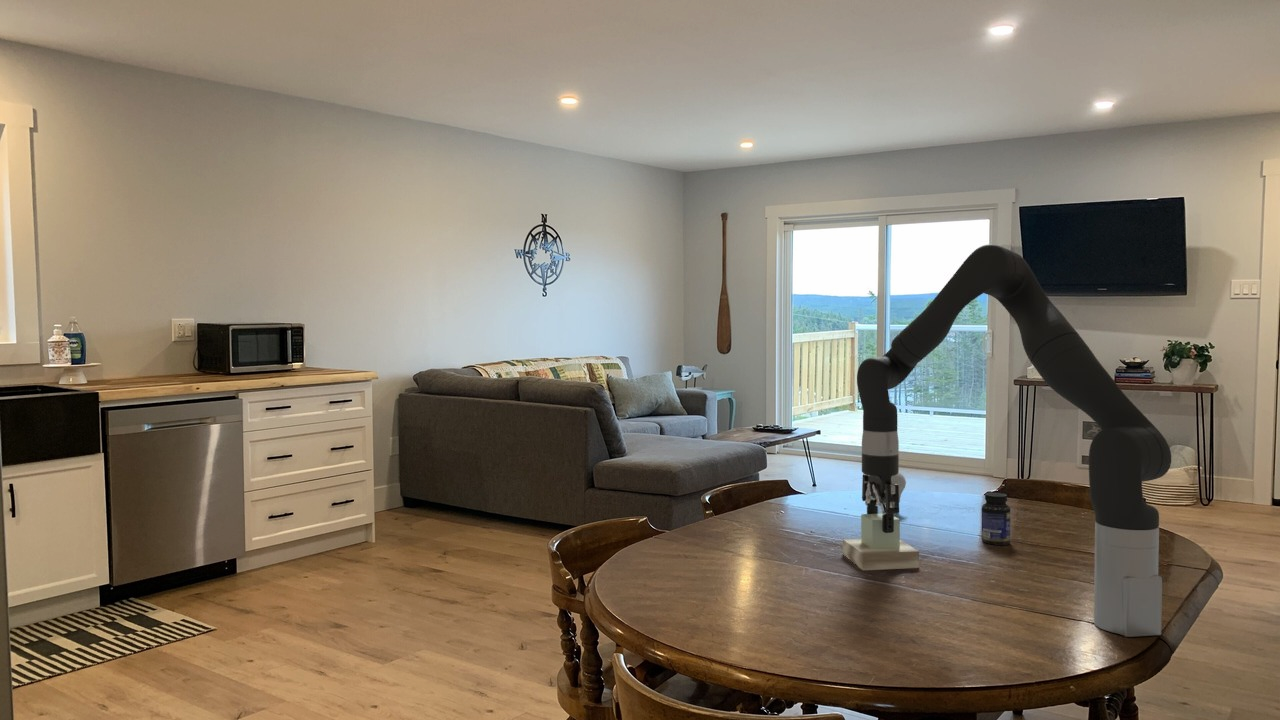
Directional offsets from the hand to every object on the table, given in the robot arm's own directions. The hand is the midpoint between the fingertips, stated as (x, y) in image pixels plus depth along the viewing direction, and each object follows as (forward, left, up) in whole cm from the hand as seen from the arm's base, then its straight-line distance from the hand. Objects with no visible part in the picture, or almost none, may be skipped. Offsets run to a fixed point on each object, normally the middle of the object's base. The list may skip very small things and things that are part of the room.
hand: (879, 527), depth 189 cm
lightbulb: (+45, -22, -7) cm, 51 cm away
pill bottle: (+11, -32, -7) cm, 35 cm away
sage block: (0, 0, -4) cm, 4 cm away
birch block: (0, 0, -8) cm, 8 cm away
